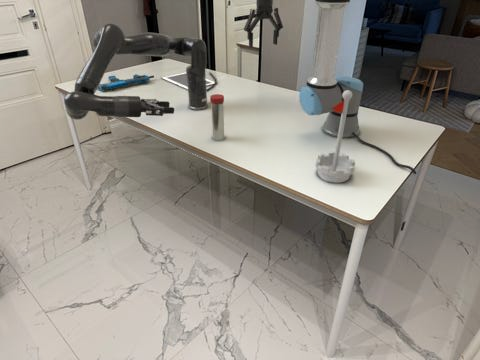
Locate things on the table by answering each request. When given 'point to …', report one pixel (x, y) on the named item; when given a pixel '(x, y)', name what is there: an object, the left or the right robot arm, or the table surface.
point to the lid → (216, 99)
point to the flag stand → (337, 151)
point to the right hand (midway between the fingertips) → (263, 45)
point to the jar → (218, 121)
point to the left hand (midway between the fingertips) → (171, 107)
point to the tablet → (183, 80)
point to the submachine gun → (123, 82)
